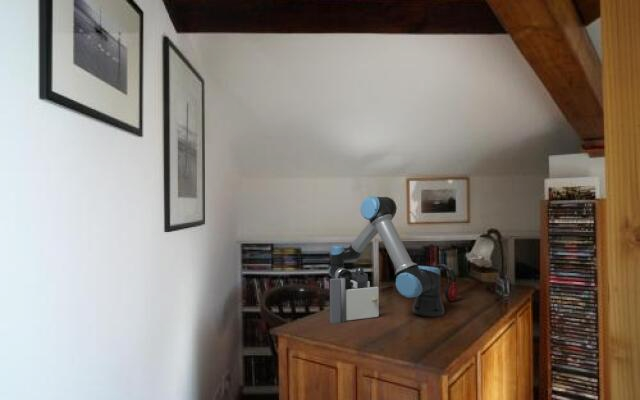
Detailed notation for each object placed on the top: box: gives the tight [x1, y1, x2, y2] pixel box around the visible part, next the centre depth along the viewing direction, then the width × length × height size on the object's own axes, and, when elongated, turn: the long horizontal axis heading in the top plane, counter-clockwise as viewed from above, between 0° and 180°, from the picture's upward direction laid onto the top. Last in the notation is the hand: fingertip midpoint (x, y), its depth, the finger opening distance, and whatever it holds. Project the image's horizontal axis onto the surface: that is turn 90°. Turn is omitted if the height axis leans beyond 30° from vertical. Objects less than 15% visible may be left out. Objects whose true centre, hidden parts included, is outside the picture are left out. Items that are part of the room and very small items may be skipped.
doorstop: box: [350, 266, 369, 289], centre depth 185 cm, size 9×9×18 cm
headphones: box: [432, 263, 459, 302], centre depth 211 cm, size 18×10×20 cm, turn 38°
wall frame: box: [329, 278, 347, 325], centre depth 170 cm, size 7×3×20 cm, turn 110°
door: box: [345, 286, 380, 321], centre depth 174 cm, size 17×3×14 cm, turn 110°
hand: (362, 285), depth 181 cm, fingers closed on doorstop, 6 cm apart
